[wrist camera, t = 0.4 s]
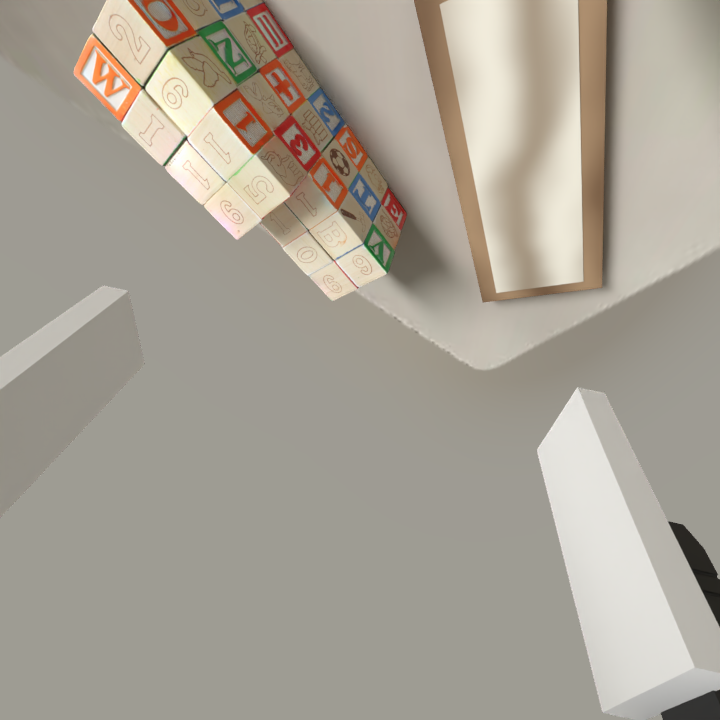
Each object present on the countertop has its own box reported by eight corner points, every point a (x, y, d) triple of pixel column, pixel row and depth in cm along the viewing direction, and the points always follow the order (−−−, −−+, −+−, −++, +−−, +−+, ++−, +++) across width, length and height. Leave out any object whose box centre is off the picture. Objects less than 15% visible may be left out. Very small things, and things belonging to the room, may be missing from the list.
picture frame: (604, -103, 21) (609, -102, 20) (599, 273, 37) (602, 288, 35) (418, -12, 26) (412, -6, 24) (484, 289, 41) (482, 303, 40)
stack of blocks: (410, 213, 37) (379, 301, 29) (358, 242, 41) (319, 327, 33) (230, -50, 27) (109, -20, 19) (183, 23, 30) (66, 73, 23)
